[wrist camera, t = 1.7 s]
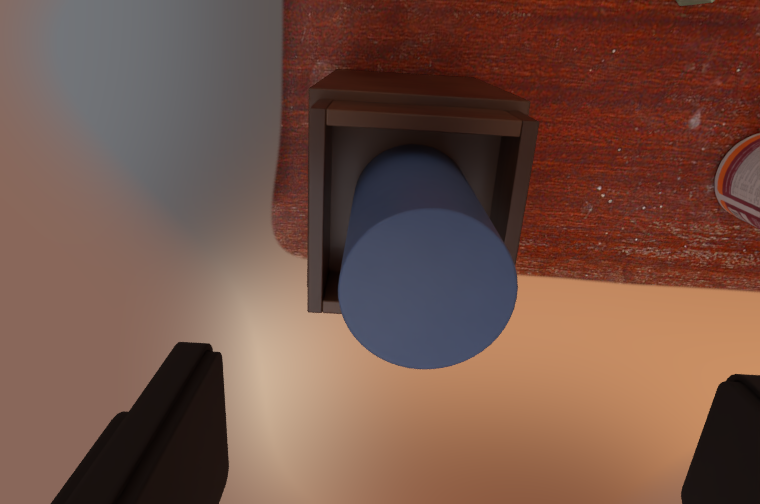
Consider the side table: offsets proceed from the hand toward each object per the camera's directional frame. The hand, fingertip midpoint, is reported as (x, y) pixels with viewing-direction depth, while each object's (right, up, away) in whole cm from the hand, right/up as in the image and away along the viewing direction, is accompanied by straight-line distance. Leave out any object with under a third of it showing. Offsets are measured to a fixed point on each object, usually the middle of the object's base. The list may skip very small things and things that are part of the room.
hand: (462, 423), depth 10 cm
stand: (0, +11, +26) cm, 28 cm away
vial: (0, +5, +13) cm, 14 cm away
